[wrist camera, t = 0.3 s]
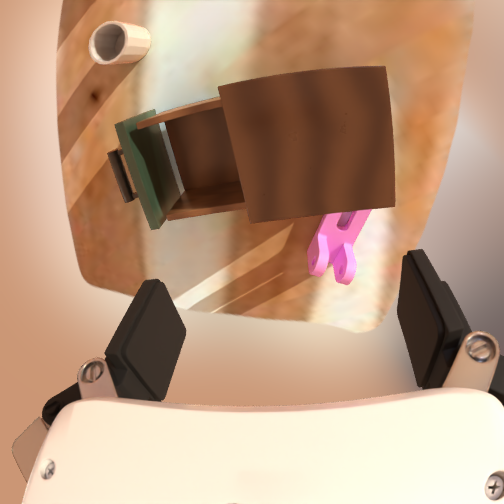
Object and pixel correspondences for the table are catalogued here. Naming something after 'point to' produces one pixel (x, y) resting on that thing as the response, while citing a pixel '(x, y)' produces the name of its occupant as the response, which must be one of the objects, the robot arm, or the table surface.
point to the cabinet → (312, 142)
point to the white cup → (119, 43)
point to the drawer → (179, 163)
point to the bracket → (336, 246)
